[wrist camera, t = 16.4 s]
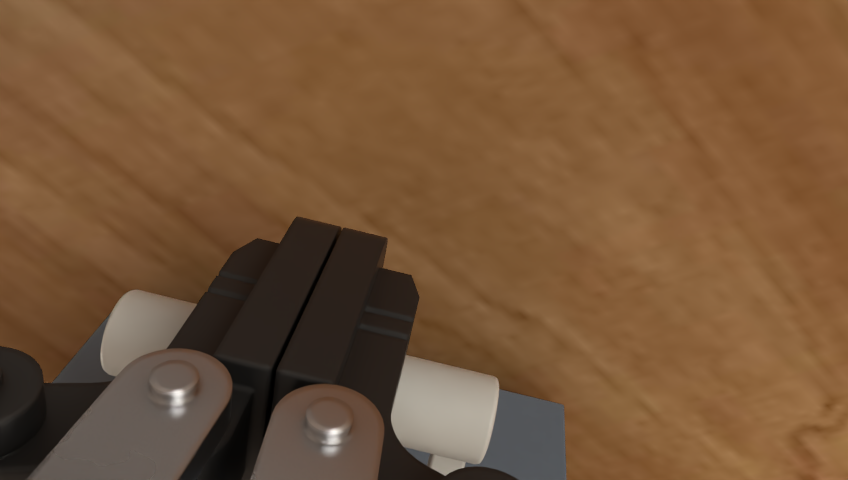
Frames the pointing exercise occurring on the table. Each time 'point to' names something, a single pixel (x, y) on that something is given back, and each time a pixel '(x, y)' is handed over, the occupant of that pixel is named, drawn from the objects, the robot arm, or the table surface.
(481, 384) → the drawer
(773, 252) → the table surface
